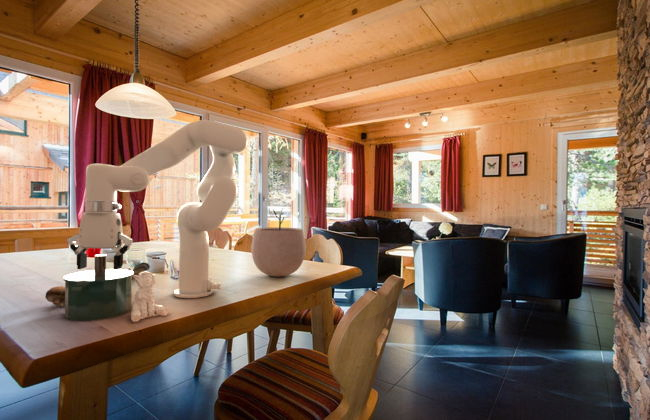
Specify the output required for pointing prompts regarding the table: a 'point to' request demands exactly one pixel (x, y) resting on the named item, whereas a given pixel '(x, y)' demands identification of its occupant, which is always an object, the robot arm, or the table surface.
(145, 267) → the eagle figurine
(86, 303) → the pot
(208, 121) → the robot arm
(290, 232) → the plant pot
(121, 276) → the lid
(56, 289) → the mushroom
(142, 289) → the seated beast figurine
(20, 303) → the table surface
